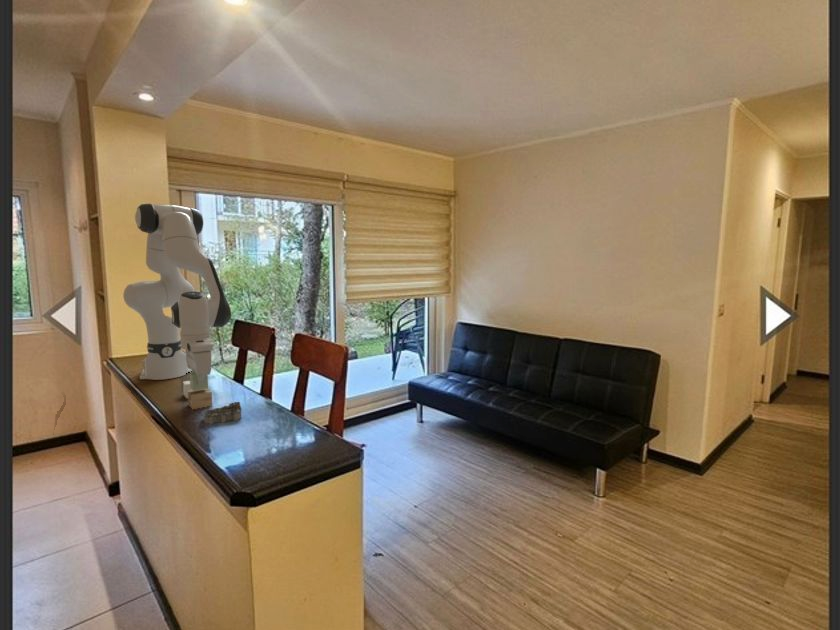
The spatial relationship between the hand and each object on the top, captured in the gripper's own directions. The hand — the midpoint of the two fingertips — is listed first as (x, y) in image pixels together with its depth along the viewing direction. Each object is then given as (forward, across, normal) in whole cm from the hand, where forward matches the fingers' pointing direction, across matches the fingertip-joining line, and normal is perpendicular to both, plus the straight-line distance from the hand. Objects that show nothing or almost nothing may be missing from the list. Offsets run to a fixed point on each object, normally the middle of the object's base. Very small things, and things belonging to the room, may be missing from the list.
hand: (198, 382), depth 147 cm
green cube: (+2, 0, 0) cm, 2 cm away
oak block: (+8, 0, 0) cm, 8 cm away
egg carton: (+8, +17, +3) cm, 19 cm away
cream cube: (+8, -13, 0) cm, 15 cm away
